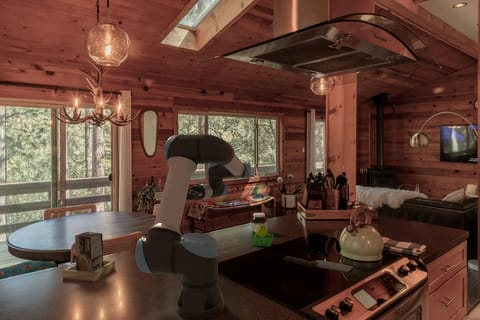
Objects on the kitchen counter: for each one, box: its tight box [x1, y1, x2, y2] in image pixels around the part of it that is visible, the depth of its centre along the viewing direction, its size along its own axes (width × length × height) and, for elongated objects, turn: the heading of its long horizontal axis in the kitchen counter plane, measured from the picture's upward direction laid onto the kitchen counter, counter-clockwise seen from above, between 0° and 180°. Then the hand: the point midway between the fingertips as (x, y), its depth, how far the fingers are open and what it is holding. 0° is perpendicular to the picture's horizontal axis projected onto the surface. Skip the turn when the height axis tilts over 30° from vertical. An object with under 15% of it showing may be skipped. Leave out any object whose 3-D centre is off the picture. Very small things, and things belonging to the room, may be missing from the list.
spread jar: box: [250, 212, 269, 234], centre depth 197 cm, size 12×11×12 cm
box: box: [62, 259, 116, 283], centre depth 137 cm, size 14×14×4 cm
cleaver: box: [284, 255, 354, 273], centre depth 146 cm, size 30×10×2 cm, turn 61°
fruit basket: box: [250, 225, 274, 247], centre depth 175 cm, size 11×9×11 cm
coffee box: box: [74, 231, 104, 272], centre depth 137 cm, size 9×6×16 cm
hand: (163, 197), depth 147 cm, fingers open, 13 cm apart
